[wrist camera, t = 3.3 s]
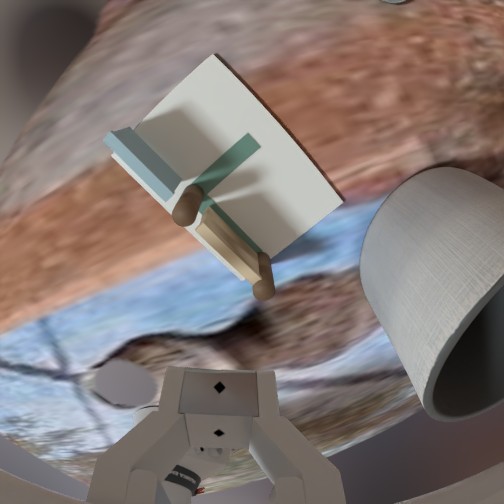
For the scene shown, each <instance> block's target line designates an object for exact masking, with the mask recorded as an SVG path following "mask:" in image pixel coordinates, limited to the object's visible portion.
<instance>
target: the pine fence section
mask: <svg viewBox="0 0 504 504" xmlns="http://www.w3.org/2000/svg"><path fill="white" fill-rule="evenodd" d="M203 197H204V191H203V189H202V188H201V187H200V186H199V185H196V184H191V185H188V186H187V187H186V188H185V189H184V191H183V193H182V195H181V196H180V198H179V200H178V202H177V203H176V205H175V207H174V209H173V211H172V218H173V220H174V222H175V223H176V224H177V225H179V226H182V227H187V226H190V225H192V224H193V223H194V222H195V220H196V217H197V214H198V211H199V208H200V206H201V203H202V200H203ZM195 231H196V232H197V233H198V234H199V235H200V236H201V237H202V238H203V239H204V240H205V241H206V242H207V243H208V244H209V245H210V246H211V247H212V248H214V249H215V250H216V251H217V252H218V253H219V254H220V255H221V256H222V257H223V258H224V259H225V260H226V261H227V262H228V263H229V264H230V265H232V266H233V267H234V268H235V269H236V270H237V271H238V272H239V273H240V274H241V275H242V276H243V277H244V278H245V279H246V280H248V281H249V282H250V283H251V284H252V285H253V295H254V296H255V297H256V298H257V299H259V300H269V299H271V298H272V297H273V296H274V294H275V286H274V280H273V274H272V268H271V262H270V257H269V255H268V254H267V253H265V252H258V253H256V252H255V251H254V250H253V249H252V248H251V247H250V246H249V245H248V244H247V243H246V242H245V241H244V240H243V239H242V238H241V237H240V236H239V235H238V234H237V233H236V232H235V231H234V230H233V229H232V228H231V227H230V226H229V225H228V224H227V223H226V222H225V221H224V220H223V219H222V218H221V217H220V216H219V215H218V214H217V213H216V212H215V211H214V210H213V209H212V208H211V207H210V206H208V207H207V208H206V209H205V210H204V211H203V215H202V218H201V221H200V224H199V225H198V226H197V227H196V228H195Z"/></svg>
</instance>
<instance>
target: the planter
mask: <svg viewBox="0 0 504 504" xmlns="http://www.w3.org/2000/svg"><path fill="white" fill-rule="evenodd" d="M360 277H361V283H362V286H363V289H364V292H365V295H366V297H367V299H368V301H369V303H370V305H371V307H372V309H373V311H374V312H375V314H376V316H377V318H378V320H379V321H380V323H381V325H382V327H383V329H384V330H385V332H386V334H387V336H388V338H389V339H390V341H391V343H392V345H393V347H394V349H395V351H396V352H397V354H398V356H399V358H400V360H401V362H402V364H403V366H404V368H405V370H406V372H407V374H408V376H409V378H410V380H411V382H412V384H413V386H414V388H415V390H416V392H417V395H418V397H419V399H420V401H421V403H422V405H423V407H424V409H425V411H426V412H427V414H428V415H429V416H430V417H432V418H433V419H435V420H438V421H442V422H454V421H460V420H465V419H468V418H471V417H474V416H477V415H479V414H482V413H484V412H486V411H488V410H490V409H492V408H493V407H495V406H497V405H498V404H500V403H502V402H503V401H504V189H502V188H500V187H499V186H497V185H495V184H493V183H491V182H489V181H488V180H486V179H484V178H482V177H480V176H478V175H476V174H474V173H471V172H469V171H466V170H463V169H459V168H454V167H438V168H433V169H429V170H426V171H423V172H421V173H419V174H417V175H415V176H413V177H411V178H410V179H408V180H407V181H405V182H404V183H402V184H401V185H400V186H399V187H398V188H396V189H395V190H394V191H393V192H392V193H391V194H390V195H389V196H388V198H387V199H386V200H385V201H384V202H383V204H382V205H381V206H380V208H379V209H378V211H377V212H376V214H375V216H374V217H373V219H372V221H371V223H370V225H369V227H368V230H367V232H366V235H365V238H364V241H363V245H362V249H361V254H360Z"/></svg>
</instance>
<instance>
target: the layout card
mask: <svg viewBox="0 0 504 504" xmlns="http://www.w3.org/2000/svg"><path fill="white" fill-rule="evenodd" d="M133 131H134V132H135V133H136V134H137V135H138V136H139V137H140V138H141V139H142V140H143V141H144V142H145V143H146V144H147V145H148V146H149V147H150V148H151V149H152V150H153V151H154V152H155V153H156V154H157V155H158V156H159V157H160V158H161V159H162V160H163V161H164V162H165V163H166V164H167V165H168V166H169V167H170V168H171V169H172V170H174V171H175V172H176V173H177V174H178V175H179V176H180V177H181V178H182V181H181V182H180V184H179V185H178V187H177V188H176V190H175V191H174V192H175V194H174V195H173V196H172V197H171V198H170V199H169V200H168V201H167V202H165V201H164V200H163V199H161V198H160V197H159V196H158V195H157V194H156V193H155V192H154V191H153V190H152V189H151V188H150V187H149V186H148V185H147V184H146V183H145V182H144V181H143V180H142V179H141V178H140V177H139V176H138V175H137V174H136V173H135V172H134V171H133V170H132V169H131V168H130V167H129V166H128V165H127V164H126V163H125V162H124V161H123V160H122V159H121V158H120V157H119V156H118V155H117V154H116V153H115V152H114V153H113V154H112V155H111V156H112V157H113V158H114V159H115V160H116V161H117V162H118V163H119V164H120V165H121V166H122V167H123V168H124V169H125V170H126V171H127V172H128V173H129V174H130V175H131V176H132V177H133V178H134V179H135V180H136V181H137V182H138V183H139V184H140V185H141V186H142V187H143V188H144V189H145V190H146V191H147V192H148V193H150V194H151V195H152V196H153V197H154V198H155V199H156V200H157V201H158V202H159V203H160V204H161V205H162V206H163V207H164V208H165V209H166V210H167V211H168V212H169V213H170V214H171V215H172V211H173V209H174V207H175V205H176V203H177V202H178V200H179V198H180V196H181V195H182V193H183V191H184V189H185V188H186V187H187V186H188V185H191V184H196V185H199V186H200V187H201V188H202V189H203V191H204V197H203V200H202V203H201V206H200V208H199V211H198V214H197V217H196V220H195V222H194V223H193V224H192V225H190V226H187V227H185V228H186V229H187V230H188V231H189V232H190V233H191V234H192V235H193V236H194V237H195V238H196V239H197V240H198V241H200V242H201V243H202V244H203V245H204V246H205V247H206V248H207V249H208V250H209V251H210V252H211V253H212V254H213V255H214V256H215V257H216V258H218V259H219V260H220V261H221V262H222V263H223V264H224V265H225V266H226V267H227V268H228V269H229V270H230V271H231V272H233V273H234V274H235V275H236V276H237V277H238V278H239V279H240V280H241V281H243V280H245V278H244V277H243V276H242V275H241V274H240V273H239V272H238V271H237V270H236V269H235V268H234V267H233V266H232V265H230V264H229V263H228V262H227V261H226V260H225V259H224V258H223V257H222V256H221V255H220V254H219V253H218V252H217V251H216V250H215V249H214V248H212V247H211V246H210V245H209V244H208V243H207V242H206V241H205V240H204V239H203V238H202V237H201V236H200V235H199V234H198V233H197V232H196V231H195V228H196V227H197V226H198V225H199V224H200V221H201V218H202V215H203V211H204V210H205V209H206V208H207V207H208V206H210V207H211V208H212V209H213V210H214V211H215V212H216V213H217V214H218V215H219V216H220V217H221V218H222V219H223V220H224V221H225V222H226V223H227V224H228V225H229V226H230V227H231V228H232V229H233V230H234V231H235V232H236V233H237V234H238V235H239V236H240V237H241V238H242V239H243V240H244V241H245V242H246V243H247V244H248V245H249V246H250V247H251V248H252V249H253V250H254V251H255V252H256V253H258V252H265V253H267V254H268V255H269V257H270V259H272V258H273V257H274V256H276V255H277V254H278V253H279V252H281V251H282V250H283V249H285V248H286V247H287V246H288V245H290V244H291V243H292V242H294V241H295V240H296V239H297V238H299V237H300V236H301V235H302V234H304V233H305V232H306V231H308V230H309V229H310V228H311V227H313V226H314V225H315V224H316V223H318V222H319V221H320V220H322V219H323V218H324V217H325V216H327V215H328V214H329V213H330V212H332V211H333V210H334V209H335V208H337V207H338V206H339V205H341V204H342V203H343V201H342V200H341V199H340V197H339V196H338V195H337V193H336V192H335V191H334V190H333V188H332V187H331V186H330V184H329V183H328V182H327V181H326V179H325V178H324V177H323V176H322V174H321V173H320V172H319V171H318V169H317V168H316V167H315V166H314V164H313V163H312V162H311V161H310V159H309V158H308V157H307V156H306V155H305V153H304V152H303V151H302V150H301V149H300V147H299V146H298V145H297V144H296V143H295V142H294V140H293V139H292V138H291V137H290V136H289V134H288V133H287V132H286V131H285V130H284V129H283V128H282V126H281V125H280V124H279V123H278V122H277V121H276V120H275V119H274V117H273V116H272V115H271V114H270V113H269V112H268V111H267V110H266V108H265V107H264V106H263V105H262V104H261V103H260V102H259V101H258V100H257V99H256V98H255V97H254V95H253V94H252V93H251V92H250V91H249V90H248V89H247V88H246V87H245V86H244V85H243V84H242V83H241V82H240V81H239V80H238V79H237V78H236V77H235V76H234V75H233V73H232V72H231V71H230V70H229V69H228V68H227V67H226V66H225V65H224V64H223V63H222V62H221V61H220V60H219V59H218V58H217V57H216V56H215V55H213V54H212V55H211V56H210V57H209V58H207V59H206V60H205V61H204V62H203V63H202V64H200V65H199V66H198V67H197V68H196V69H195V70H194V71H193V72H191V73H190V74H189V75H188V76H187V77H186V78H185V79H184V80H183V81H182V82H181V83H180V84H179V85H177V86H176V87H175V88H174V89H173V90H172V91H171V92H170V93H169V94H168V95H167V96H166V97H165V98H164V99H163V100H162V101H161V102H160V103H159V104H158V105H157V106H156V107H155V108H154V109H153V110H152V111H151V112H150V113H149V114H148V115H147V116H146V117H145V118H144V120H143V121H142V122H141V123H140V124H139V125H138V126H137V127H136V128H135V129H134V130H133Z"/></svg>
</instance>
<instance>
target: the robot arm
mask: <svg viewBox="0 0 504 504" xmlns="http://www.w3.org/2000/svg"><path fill="white" fill-rule="evenodd" d="M133 426H134V428H133V429H131V430H130V431H129V432H128V433H127V434H126V435H125V436H123V437H122V438H121V439H120V440H119V441H118V442H117V443H115V444H114V445H113V446H112V447H111V448H110V449H108V450H107V451H106V452H105V453H104V454H103V455H101V456H100V457H99V458H98V459H97V461H96V465H95V468H94V472H93V476H92V480H91V484H90V488H89V492H88V496H87V501H82V500H79V499H75V498H72V497H69V496H66V495H63V494H60V493H57V492H54V491H52V490H49V489H46V488H43V487H41V486H38V485H36V484H33V483H31V482H28V481H26V480H24V479H21V478H19V477H17V476H14V475H12V474H10V473H8V472H6V471H4V470H2V469H0V504H191V497H192V496H196V494H200V493H204V491H203V492H200V491H202V490H203V489H205V488H204V487H203V488H199V489H197V488H198V486H199V484H200V482H201V481H202V480H204V479H206V478H208V477H210V476H212V475H214V474H216V473H218V472H220V471H222V470H223V469H224V468H225V467H226V466H227V464H228V460H229V455H231V454H233V453H235V452H236V451H238V450H239V449H249V452H250V453H251V454H252V456H253V457H254V459H255V460H256V461H257V463H258V464H259V466H260V467H261V468H262V470H263V471H264V472H265V474H266V475H267V476H268V478H269V479H270V480H271V482H272V483H273V484H274V486H273V488H272V491H271V494H270V496H269V499H268V501H267V504H346V501H345V496H344V491H343V486H342V481H341V476H340V471H339V470H338V469H337V468H335V467H334V465H333V464H331V462H329V461H328V460H327V459H326V458H325V457H324V456H323V455H322V454H321V453H320V452H319V451H318V450H317V449H316V448H315V447H314V446H313V445H312V444H311V443H310V442H309V441H308V440H307V439H306V438H305V437H304V436H303V435H302V433H301V432H300V431H299V430H298V429H297V428H296V427H295V426H294V425H293V424H292V423H291V422H290V421H289V420H288V419H287V418H286V417H280V411H279V402H278V394H277V385H276V377H275V372H274V371H255V370H211V369H199V368H188V367H175V366H168V368H167V370H166V373H165V378H164V383H163V388H162V392H161V397H160V402H159V407H148V408H143V409H140V410H138V411H137V412H136V413H135V414H134V415H133ZM395 504H504V461H503V462H501V463H499V464H497V465H496V466H493V467H491V468H489V469H487V470H485V471H483V472H481V473H479V474H477V475H474V476H472V477H470V478H467V479H465V480H462V481H460V482H458V483H455V484H453V485H450V486H447V487H445V488H442V489H439V490H437V491H434V492H431V493H428V494H425V495H422V496H419V497H416V498H413V499H409V500H406V501H402V502H399V503H395Z"/></svg>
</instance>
